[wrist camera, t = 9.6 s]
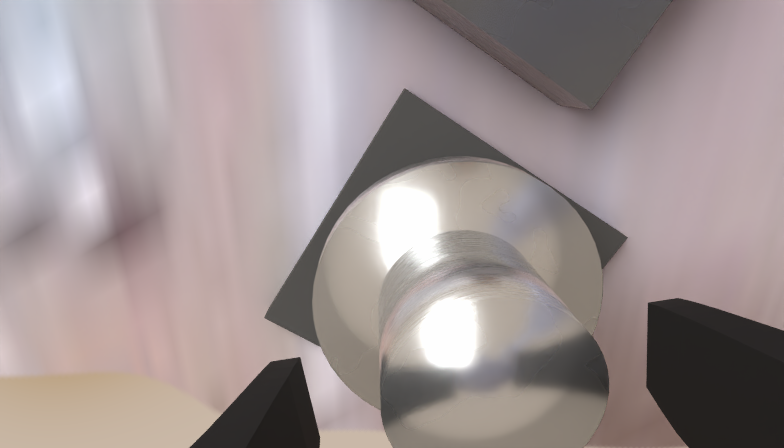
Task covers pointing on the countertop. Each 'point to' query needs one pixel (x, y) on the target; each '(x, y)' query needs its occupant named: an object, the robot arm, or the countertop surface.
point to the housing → (555, 39)
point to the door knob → (465, 308)
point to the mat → (383, 156)
